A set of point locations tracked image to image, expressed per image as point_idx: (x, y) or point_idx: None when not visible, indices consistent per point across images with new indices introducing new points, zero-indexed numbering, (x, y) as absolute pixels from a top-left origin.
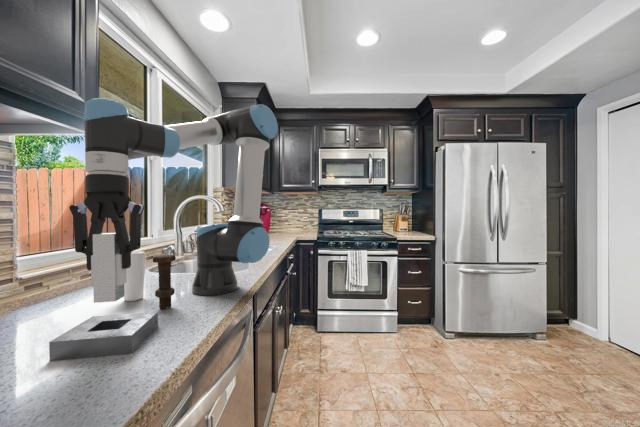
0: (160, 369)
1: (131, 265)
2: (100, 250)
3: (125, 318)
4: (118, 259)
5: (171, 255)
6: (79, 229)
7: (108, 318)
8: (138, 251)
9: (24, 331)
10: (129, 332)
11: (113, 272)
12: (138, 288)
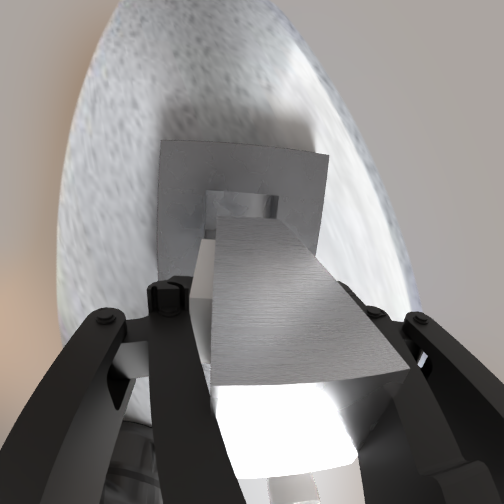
0: (106, 72)
1: (291, 481)
2: (307, 298)
3: None
4: (201, 283)
5: None
6: (488, 394)
7: None
8: None
9: (404, 314)
10: (173, 159)
11: (221, 243)
12: None
